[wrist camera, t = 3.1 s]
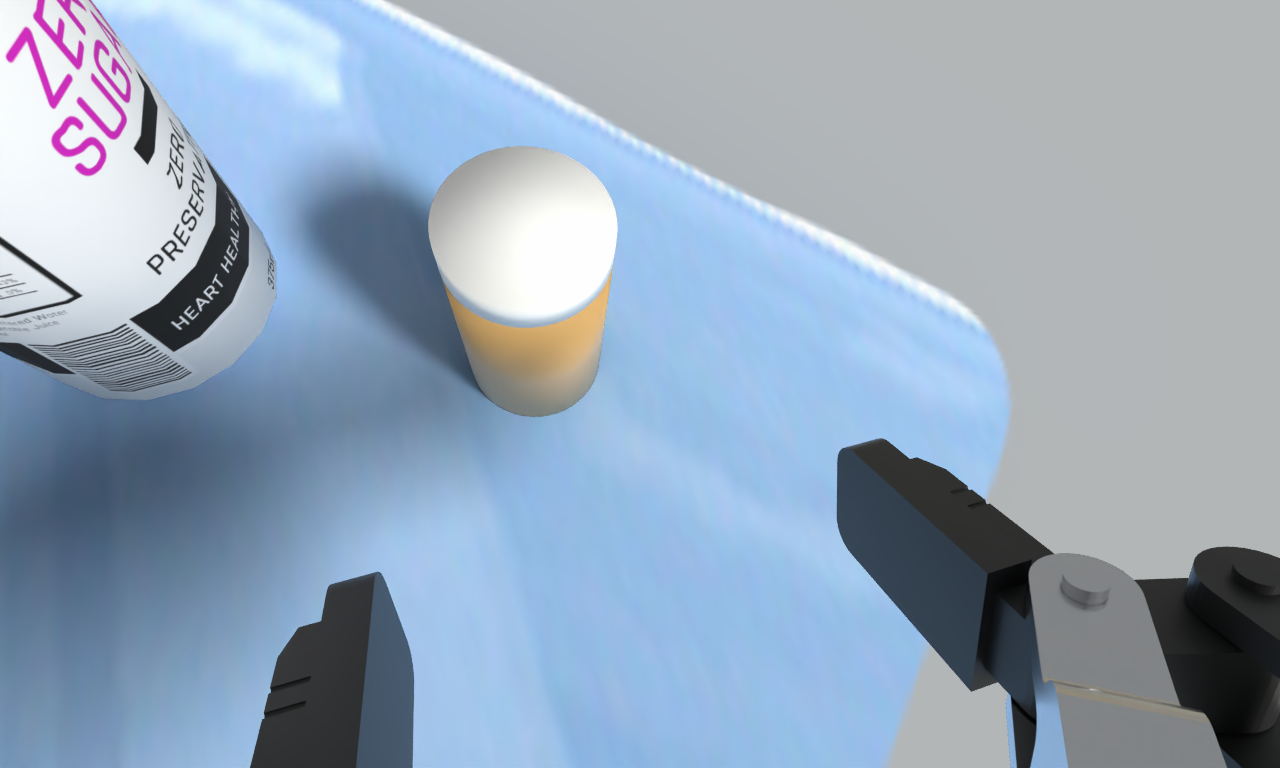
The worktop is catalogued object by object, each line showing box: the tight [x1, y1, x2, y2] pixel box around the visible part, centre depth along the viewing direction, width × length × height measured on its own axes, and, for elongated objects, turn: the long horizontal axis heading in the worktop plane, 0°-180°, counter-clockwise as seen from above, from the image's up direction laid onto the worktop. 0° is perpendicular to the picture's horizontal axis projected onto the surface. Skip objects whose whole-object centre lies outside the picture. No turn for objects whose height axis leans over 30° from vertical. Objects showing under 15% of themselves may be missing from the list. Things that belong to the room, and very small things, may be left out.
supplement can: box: [0, 0, 276, 400], centre depth 18 cm, size 8×8×15 cm
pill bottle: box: [428, 146, 617, 417], centre depth 22 cm, size 5×5×9 cm
